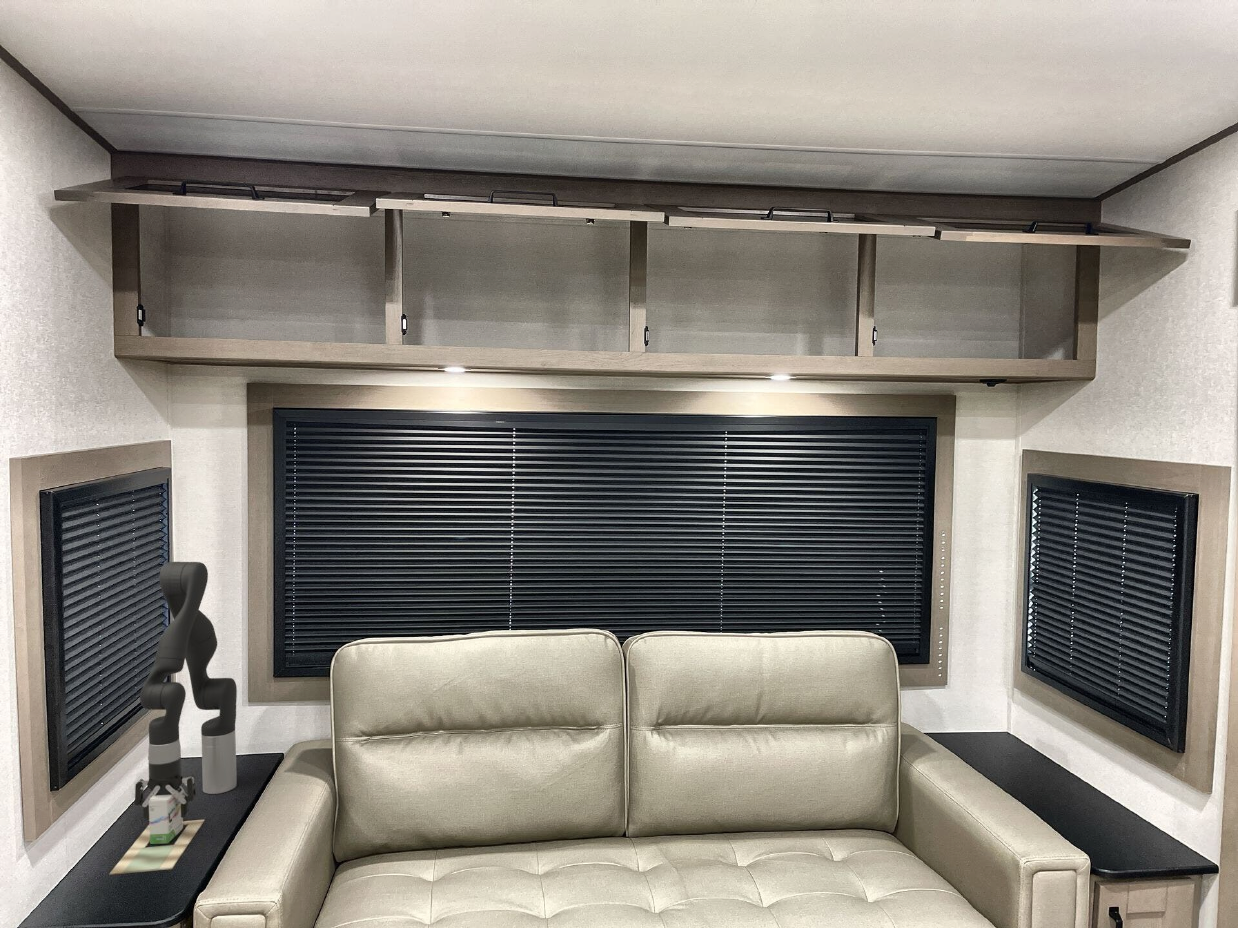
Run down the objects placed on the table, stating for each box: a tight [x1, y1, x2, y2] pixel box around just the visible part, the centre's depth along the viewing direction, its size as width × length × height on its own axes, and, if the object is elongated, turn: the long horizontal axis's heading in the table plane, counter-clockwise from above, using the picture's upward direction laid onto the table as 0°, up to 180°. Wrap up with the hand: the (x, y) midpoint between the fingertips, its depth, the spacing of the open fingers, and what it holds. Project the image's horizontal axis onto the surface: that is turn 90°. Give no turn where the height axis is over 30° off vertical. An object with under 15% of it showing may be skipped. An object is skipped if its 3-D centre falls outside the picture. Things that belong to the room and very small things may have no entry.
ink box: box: [148, 795, 184, 845], centre depth 221 cm, size 8×5×12 cm, turn 3°
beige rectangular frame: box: [109, 819, 205, 875], centre depth 216 cm, size 26×14×1 cm, turn 10°
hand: (166, 817), depth 221 cm, fingers open, 8 cm apart
